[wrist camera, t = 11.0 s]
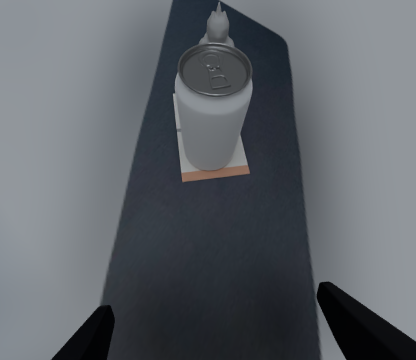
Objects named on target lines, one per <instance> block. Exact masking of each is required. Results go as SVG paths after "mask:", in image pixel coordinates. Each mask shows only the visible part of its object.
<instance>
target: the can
mask: <svg viewBox="0 0 416 360" xmlns="http://www.w3.org/2000/svg"><path fill="white" fill-rule="evenodd" d="M251 76H252V66H251V63H250V61H249V59H248V58H247V56H246V55H245V54H244V53H243V52H241V51H240V50H239V49H237V48H235V47H233V46H230V45H227V44H223V43H203V44H199V45H196V46H194V47H192V48H190V49H188V50H187V51H186V52H185V53H184V54H183V55H182V56H181V58H180V60H179V62H178V74H177V77H176V80H175V92H176V100H177V107H178V114H179V120H180V127H181V134H182V140H183V146H184V152H185V155H186V158H187V159H188V161H189V162H190V163H191V164H192V165H193V166H195V167H197V168H199V169H201V170H206V171H213V170H218V169H220V168H222V167H224V166H226V165H227V164H228V163H229V162H230V160H231V159H232V156H233V154H234V151H235V148H236V144H237V141H238V138H239V135H240V132H241V128H242V125H243V122H244V119H245V115H246V112H247V109H248V105H249V102H250V98H251V94H252V80H251Z"/></svg>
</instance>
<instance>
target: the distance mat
mask: <svg viewBox="0 0 416 360" xmlns="http://www.w3.org/2000/svg"><path fill="white" fill-rule="evenodd" d="M173 98H174V107H175V117H176V126H177V135H178V145H179V154H180V164H181V173H182V182H188V181H196V180H204V179H212V178H220V177H229V176H237V175H245V174H250V172H249V168H248V164H247V160H246V156H245V152H244V148H243V144H242V140H241V136H240V135H239V138H238V141H237V144H236V148H235V151H234V154H233V156H232V159H231V160H230V162H229V163H228V164H227V165H226V166H224V167H222V168H220V169H218V170H213V171H206V170H201V169H199V168H197V167H195V166H193V165H192V164H191V163H190V162H189V161H188V159H187V158H186V155H185V152H184V146H183V140H182V134H181V127H180V120H179V114H178V107H177V100H176V94H173Z"/></svg>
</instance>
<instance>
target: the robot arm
mask: <svg viewBox="0 0 416 360" xmlns="http://www.w3.org/2000/svg"><path fill="white" fill-rule="evenodd" d="M317 300H318V303H319V305H320V307H321V309H322V312H323V314H324V316H325V318H326V320H327V323H328V325H329V327H330V329H331V331H332V333H333V336H334V338H335V340H336V341H337V344H338V345H339V347H340V349H341V351H342V353H343V355H344V356H345V358H346V360H416V341H414V340H413V339H412V338H410V337H409V336H407V335H406V334H404V333H403V332H402V331H400V330H399V329H397V328H396V327H394V326H393V325H391V324H390V323H389V322H387V321H386V320H384V319H383V318H381V317H380V316H378V315H377V314H376V313H374V312H373V311H371V310H370V309H368V308H367V307H366V306H364V305H363V304H361V303H360V302H358V301H357V300H356V299H354V298H353V297H351V296H350V295H348V294H347V293H345V292H344V291H343V290H341V289H340V288H338V287H337V286H335V285H334V284H333V283H331V282H321V283H320V284H319V287H318V291H317ZM114 323H115V318H114V314H113V311H112V308H111V306H110V305H103V306H99V307H98V308H97V309H96V310H95V311H94V313H93V314H92V315H91V316H90V317H89V318H88V319H87V320H86V321H85V323H84V324H83V325H82V326H81V327H80V328H79V329H78V330H77V331H76V332H75V334H74V335H73V336H72V337H71V338H70V339H69V340H68V341H67V343H66V344H65V345H64V346H63V347H62V348H61V349H60V351H59V352H58V353H57V354H56V355H55V356H54V357H53V358H52V360H107V356H108V351H109V347H110V342H111V338H112V333H113V328H114Z"/></svg>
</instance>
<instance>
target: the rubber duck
mask: <svg viewBox="0 0 416 360" xmlns="http://www.w3.org/2000/svg"><path fill="white" fill-rule="evenodd" d="M228 30H229V21H228V19H227V16H226V12H225V11H224V12H221V7H220V1H219V3H218V7H217V12H214V11H213V12H212V14H211V16H210V17H209V19H208V21H207V33H206V34H205V36H204V37H203V38H202V39H201V40H200V42H199V44H203V43H223V44H227V45H230V46H233V47H234V43H233V41H232V40H231V39H230V38H229V36H228Z"/></svg>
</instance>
